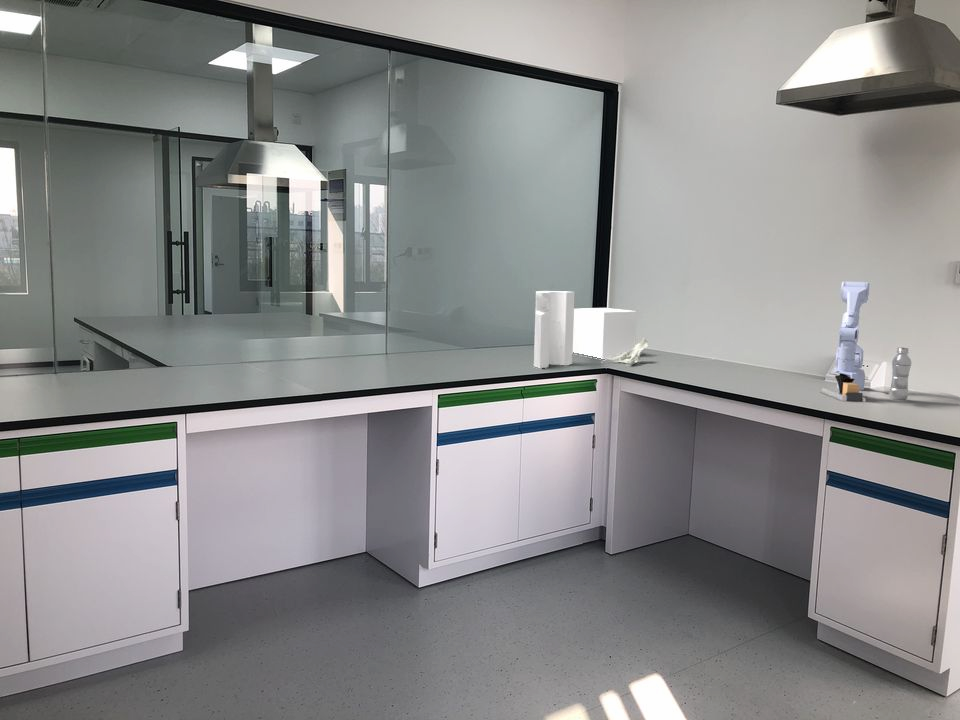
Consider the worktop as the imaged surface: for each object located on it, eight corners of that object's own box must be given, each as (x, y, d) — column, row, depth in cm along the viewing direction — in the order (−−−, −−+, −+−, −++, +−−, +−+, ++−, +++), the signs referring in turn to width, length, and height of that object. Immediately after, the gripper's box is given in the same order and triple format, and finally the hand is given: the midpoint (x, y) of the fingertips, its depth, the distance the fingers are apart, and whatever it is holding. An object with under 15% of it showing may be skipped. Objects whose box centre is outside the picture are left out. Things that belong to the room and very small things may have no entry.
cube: (634, 358, 397) (636, 311, 394) (602, 360, 387) (604, 312, 383) (603, 352, 419) (605, 307, 415) (572, 354, 408) (574, 308, 405)
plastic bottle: (901, 398, 293) (906, 347, 291) (911, 402, 287) (916, 349, 284) (884, 398, 293) (889, 346, 290) (894, 402, 286) (899, 349, 284)
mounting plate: (843, 394, 300) (844, 385, 299) (866, 403, 282) (867, 393, 281) (819, 394, 300) (820, 384, 299) (840, 403, 282) (841, 393, 281)
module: (853, 398, 288) (854, 382, 287) (858, 400, 284) (859, 384, 283) (841, 398, 288) (843, 382, 287) (846, 400, 284) (847, 384, 283)
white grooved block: (573, 365, 364) (541, 369, 351) (556, 362, 373) (524, 366, 360) (575, 292, 359) (543, 292, 346) (558, 290, 368) (526, 291, 355)
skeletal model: (599, 364, 372) (626, 327, 381) (608, 376, 377) (634, 340, 386) (624, 367, 360) (651, 329, 369) (633, 380, 364) (659, 343, 373)
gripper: (827, 356, 296) (824, 390, 298) (845, 361, 282) (841, 397, 284) (845, 356, 296) (842, 390, 298) (864, 362, 282) (860, 398, 284)
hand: (843, 394), depth 291 cm, fingers closed
